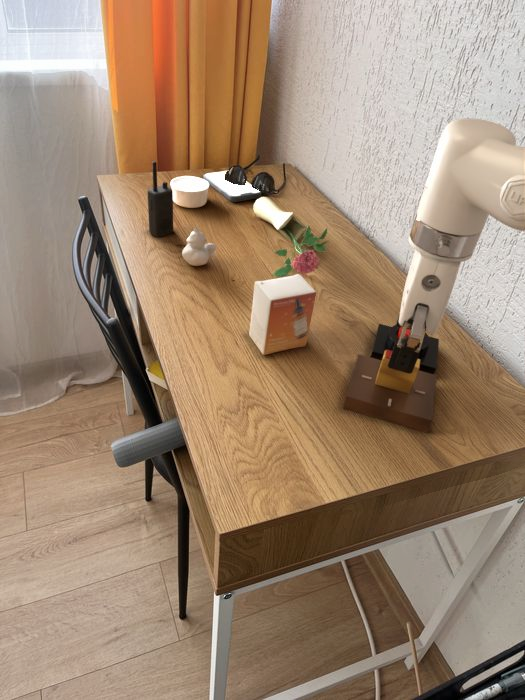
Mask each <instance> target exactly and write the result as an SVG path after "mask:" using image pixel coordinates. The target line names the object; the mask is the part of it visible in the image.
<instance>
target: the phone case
mask: <svg viewBox="0 0 525 700" xmlns="http://www.w3.org/2000/svg"><path fill="white" fill-rule="evenodd" d="M227 171H228V170H222V171H221V170H220V171H215V172H208V173H204V174H203V176H202V177H203V178H202V179H204V180H206V181H207V182H208V183H209V186H211V187H212V188H214V189H215V190H216V191H217V192H218V193H220V194H221V195H222V196H224V197H225V198H226V199H227V200H229V201H230V202H233V203H234V202H235V203H236V202H237V203H238V202H242V201H250V200H255V199H256V200H257V199H259V198H261V197H262V190H260V189H258V188H257V189H258V190H257V189H255V188H253V187H252V185H253V184H251V183H250V182H248V181H247V180H246V183H245V185H238V184H233V183H231V182H229V181H227V180H225V174H226V172H227ZM259 190H260V191H259Z"/></svg>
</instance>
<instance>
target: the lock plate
mask: <svg viewBox="0 0 525 700" xmlns="http://www.w3.org/2000/svg"><path fill="white" fill-rule="evenodd" d="M381 361H382V360H378V359H374V358H371V357H370V356H366V355H363V354H360V353H358V354H357V356H356V360H355V364H354V367H353V370H352V374H351V377H350V381H349V385H348V388H347V392H346V395H345V399H344V403H343V406H342V409H344V410H347V411H349V412H354V413H356V414H361V415H364V416H368V417H371V418H375V419H378V420H381V421H386V422H389V423H393V424H395V425H399V426H402V427H406V428H409V429H413V430H416V431H420V432H423V433H428V432H429V430H430V427H431V425H432V423H433V419H434V409H435V408H434V407H435V393H436V383H437V375H436V374H435V373H434V374H430V373H426V372H423V371H419V370H418V373H417V376H416V378H415V381H414V384H413V386H412V389H411V391H410V394H408V393H405V392H401V391H397V390H394V389H390V388H387V387H383V386H379V385H376V384H375V382H376V378H377V374H378V371H379V368H380V365H381Z"/></svg>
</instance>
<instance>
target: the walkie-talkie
mask: <svg viewBox="0 0 525 700" xmlns="http://www.w3.org/2000/svg"><path fill="white" fill-rule="evenodd" d="M151 164H152V165H151V167H152V168H151V169H152V187H151V188H148V190H147V211H148V232H149V233H150V234H151V235H153V236H155V237H162V236H165V235H168V234H172V233H173V232H174V201H173V190H172V187H169V186H168V182H167V181H163V182H162V185H159V186H158V171H157V170H158V168H157V167H158V165H157V161H155V160H154V161H152V162H151Z"/></svg>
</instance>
